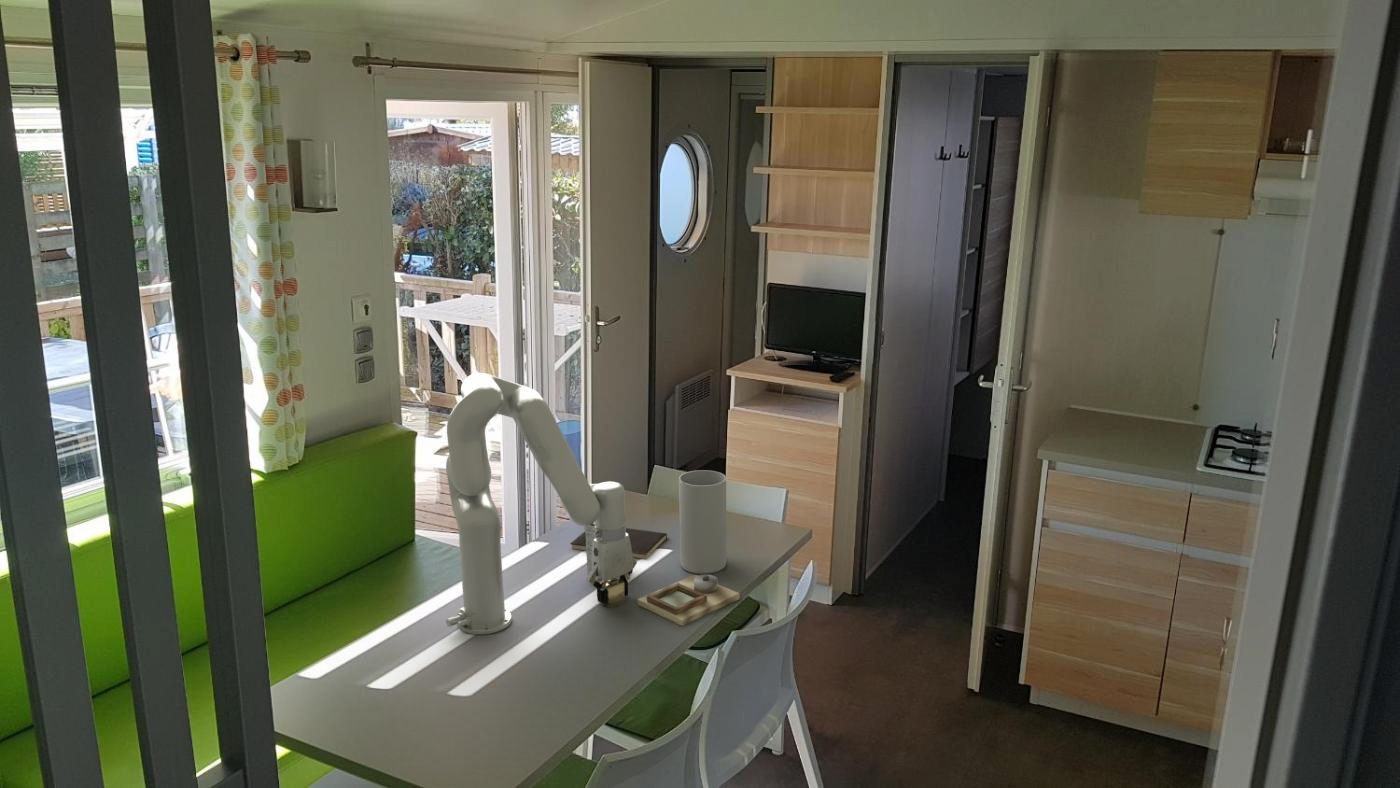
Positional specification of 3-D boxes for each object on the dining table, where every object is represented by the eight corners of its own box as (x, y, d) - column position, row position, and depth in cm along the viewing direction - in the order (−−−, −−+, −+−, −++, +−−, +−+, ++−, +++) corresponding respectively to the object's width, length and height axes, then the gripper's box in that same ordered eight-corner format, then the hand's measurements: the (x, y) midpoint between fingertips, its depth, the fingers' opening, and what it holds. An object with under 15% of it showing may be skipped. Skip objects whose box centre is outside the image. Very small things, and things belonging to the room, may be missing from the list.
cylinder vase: (700, 552, 288) (699, 467, 281) (735, 563, 280) (735, 476, 274) (670, 566, 278) (669, 479, 272) (706, 579, 271) (705, 489, 264)
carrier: (681, 625, 246) (681, 607, 245) (637, 604, 257) (637, 586, 256) (739, 598, 259) (739, 581, 258) (695, 579, 270) (694, 562, 269)
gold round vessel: (611, 608, 255) (610, 587, 253) (596, 601, 259) (595, 580, 258) (629, 600, 259) (629, 579, 257) (614, 593, 263) (613, 572, 262)
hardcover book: (645, 561, 284) (645, 553, 283) (570, 550, 291) (570, 543, 291) (667, 539, 298) (667, 532, 297) (595, 530, 306) (594, 522, 305)
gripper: (592, 545, 246) (595, 614, 250) (646, 526, 257) (648, 592, 262) (573, 537, 251) (576, 605, 256) (627, 518, 263) (629, 583, 267)
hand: (612, 598), depth 259 cm, fingers closed on gold round vessel, 6 cm apart
